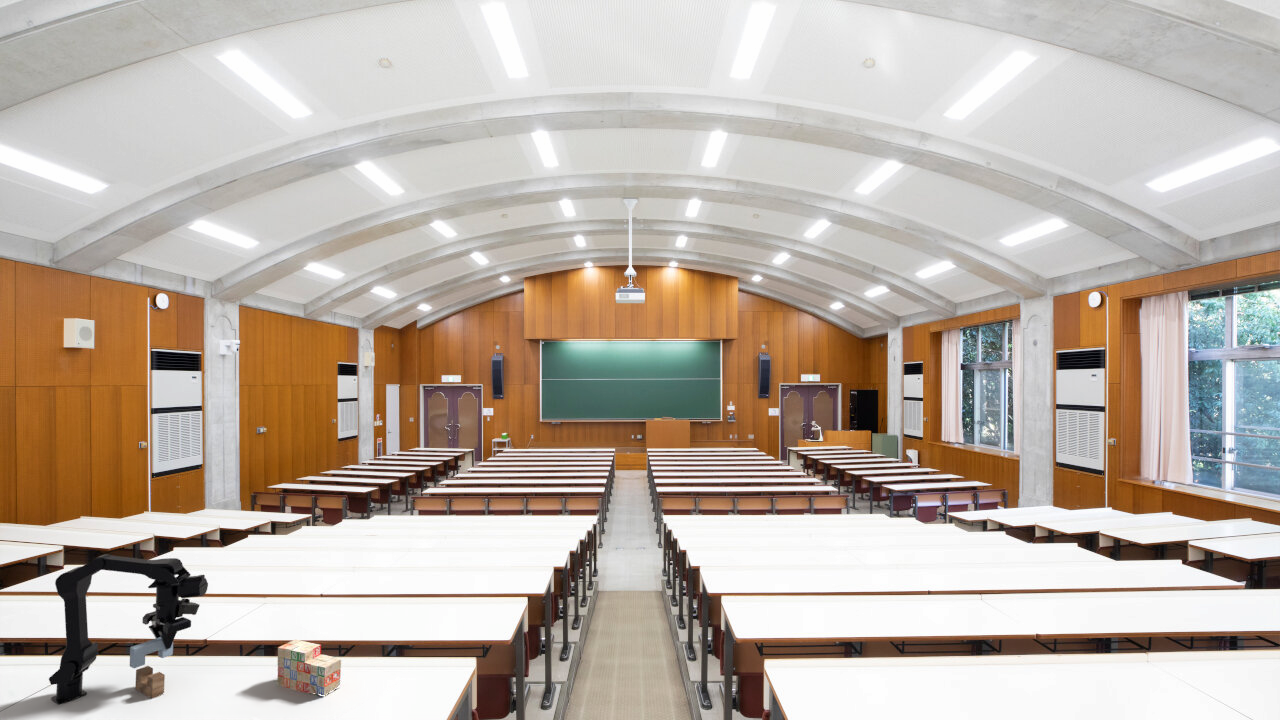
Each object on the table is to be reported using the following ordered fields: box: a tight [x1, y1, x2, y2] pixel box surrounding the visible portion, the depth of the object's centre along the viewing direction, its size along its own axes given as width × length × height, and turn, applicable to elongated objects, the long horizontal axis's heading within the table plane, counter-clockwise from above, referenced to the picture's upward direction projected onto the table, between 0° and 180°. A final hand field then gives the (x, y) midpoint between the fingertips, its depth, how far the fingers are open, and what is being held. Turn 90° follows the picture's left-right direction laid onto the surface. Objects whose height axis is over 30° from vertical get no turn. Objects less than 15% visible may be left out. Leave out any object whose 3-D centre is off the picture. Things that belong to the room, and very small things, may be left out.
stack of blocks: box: [276, 639, 342, 695], centre depth 179 cm, size 21×6×12 cm, turn 69°
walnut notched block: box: [135, 665, 166, 699], centre depth 176 cm, size 12×3×6 cm, turn 62°
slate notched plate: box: [129, 637, 174, 669], centre depth 176 cm, size 10×3×6 cm, turn 152°
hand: (165, 647), depth 180 cm, fingers closed on slate notched plate, 3 cm apart
